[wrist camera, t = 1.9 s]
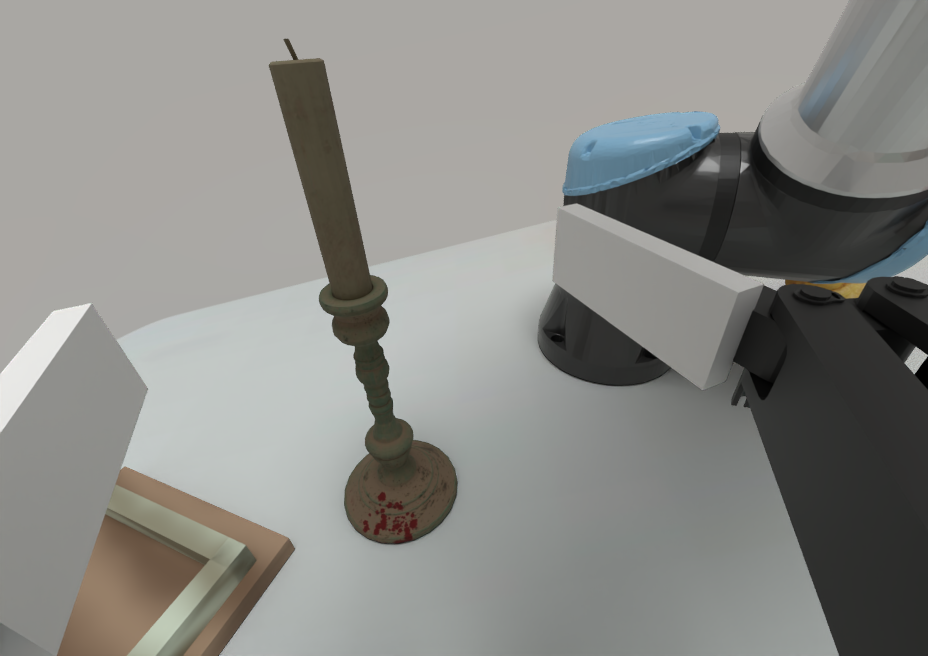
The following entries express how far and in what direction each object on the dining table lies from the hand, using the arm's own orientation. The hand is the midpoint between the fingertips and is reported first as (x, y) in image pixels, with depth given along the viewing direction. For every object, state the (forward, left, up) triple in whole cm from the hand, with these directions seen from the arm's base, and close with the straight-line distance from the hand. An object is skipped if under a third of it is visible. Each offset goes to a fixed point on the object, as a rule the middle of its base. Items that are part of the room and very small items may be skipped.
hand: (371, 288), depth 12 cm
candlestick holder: (-7, -7, -24) cm, 26 cm away
